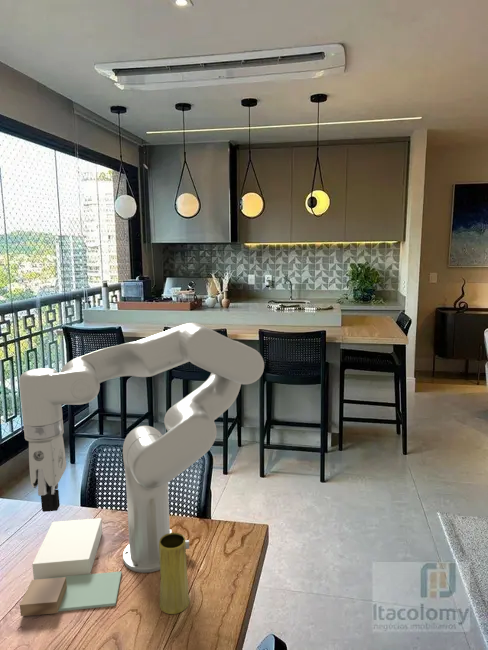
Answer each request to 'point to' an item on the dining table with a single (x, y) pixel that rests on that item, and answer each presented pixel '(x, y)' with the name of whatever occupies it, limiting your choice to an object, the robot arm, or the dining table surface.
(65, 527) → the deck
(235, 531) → the dining table surface
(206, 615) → the dining table surface
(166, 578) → the vase
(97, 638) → the dining table surface
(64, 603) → the mat
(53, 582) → the block
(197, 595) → the dining table surface
